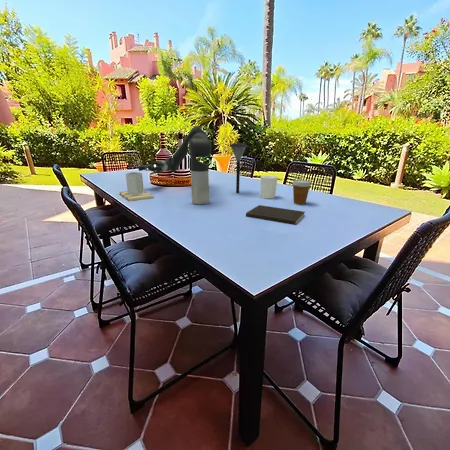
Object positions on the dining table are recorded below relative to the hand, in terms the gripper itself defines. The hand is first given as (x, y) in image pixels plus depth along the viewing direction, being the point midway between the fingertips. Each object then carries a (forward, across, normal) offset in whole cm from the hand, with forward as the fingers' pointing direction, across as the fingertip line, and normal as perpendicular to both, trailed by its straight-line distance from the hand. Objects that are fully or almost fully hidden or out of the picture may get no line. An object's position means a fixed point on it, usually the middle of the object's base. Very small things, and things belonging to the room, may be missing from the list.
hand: (144, 169), depth 165 cm
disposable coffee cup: (-7, +92, +15) cm, 94 cm away
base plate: (+10, 0, +15) cm, 18 cm away
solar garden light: (-19, +54, +15) cm, 59 cm away
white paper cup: (-15, +73, +15) cm, 76 cm away
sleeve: (+10, 0, +13) cm, 17 cm away
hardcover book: (+21, +84, +16) cm, 88 cm away
